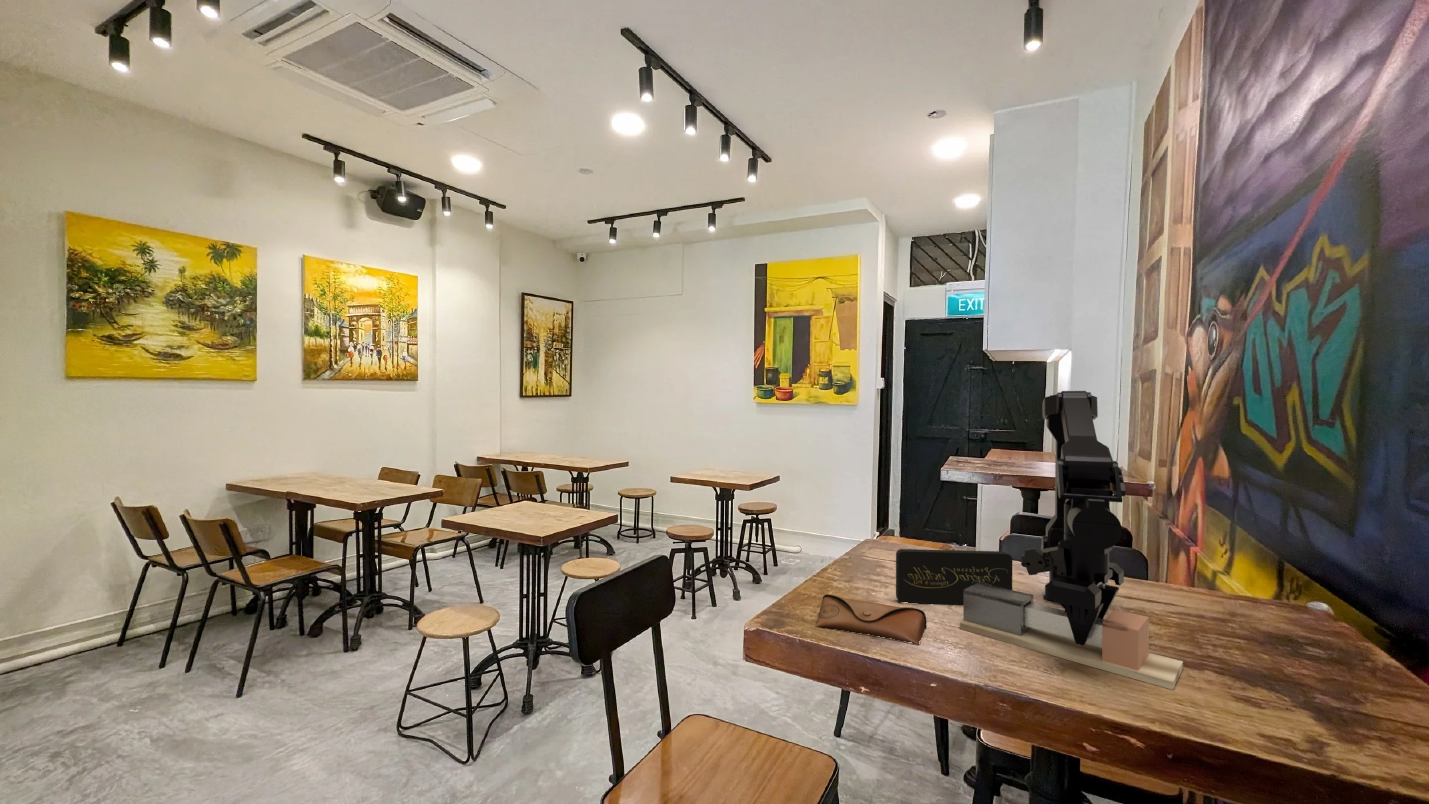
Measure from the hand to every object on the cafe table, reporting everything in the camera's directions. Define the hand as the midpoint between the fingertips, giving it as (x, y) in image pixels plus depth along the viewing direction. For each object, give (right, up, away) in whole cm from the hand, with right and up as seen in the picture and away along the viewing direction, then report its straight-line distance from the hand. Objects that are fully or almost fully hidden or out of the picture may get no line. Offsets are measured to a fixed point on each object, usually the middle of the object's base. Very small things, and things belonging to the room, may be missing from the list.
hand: (1086, 638), depth 85 cm
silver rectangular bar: (-2, 0, +2) cm, 3 cm away
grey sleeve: (-9, -1, +9) cm, 13 cm away
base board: (-2, -2, +2) cm, 4 cm away
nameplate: (-11, -3, +22) cm, 25 cm away
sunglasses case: (-30, -3, +10) cm, 32 cm away
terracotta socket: (+3, -1, -4) cm, 5 cm away
